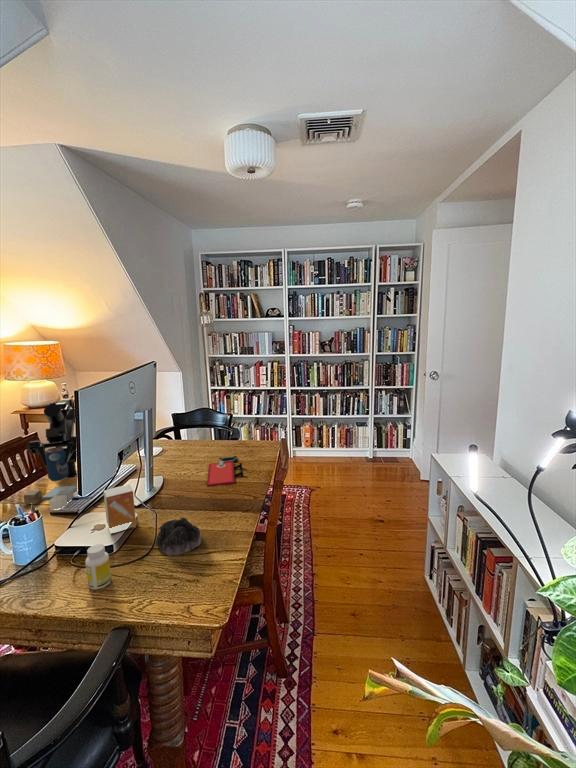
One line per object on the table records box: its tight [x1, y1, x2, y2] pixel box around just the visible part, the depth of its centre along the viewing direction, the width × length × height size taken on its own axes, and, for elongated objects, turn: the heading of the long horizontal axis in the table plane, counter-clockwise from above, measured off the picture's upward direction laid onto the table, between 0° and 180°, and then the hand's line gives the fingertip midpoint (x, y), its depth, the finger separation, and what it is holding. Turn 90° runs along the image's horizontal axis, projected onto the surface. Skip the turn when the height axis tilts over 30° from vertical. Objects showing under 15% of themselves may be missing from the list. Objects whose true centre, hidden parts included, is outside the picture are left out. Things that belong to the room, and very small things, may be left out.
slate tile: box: [42, 485, 78, 501], centre depth 148 cm, size 9×9×1 cm
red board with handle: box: [206, 455, 244, 487], centre depth 167 cm, size 30×3×15 cm
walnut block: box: [23, 489, 43, 505], centre depth 141 cm, size 4×4×4 cm
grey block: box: [57, 489, 75, 502], centre depth 141 cm, size 4×4×4 cm
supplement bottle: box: [84, 543, 112, 590], centre depth 95 cm, size 5×5×10 cm
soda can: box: [45, 447, 69, 482], centre depth 146 cm, size 7×7×12 cm
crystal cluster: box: [155, 516, 202, 557], centre depth 111 cm, size 13×14×10 cm
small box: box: [103, 484, 137, 529], centre depth 121 cm, size 8×6×13 cm
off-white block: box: [48, 495, 67, 511], centre depth 136 cm, size 4×4×4 cm
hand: (55, 463), depth 145 cm, fingers closed on soda can, 7 cm apart
